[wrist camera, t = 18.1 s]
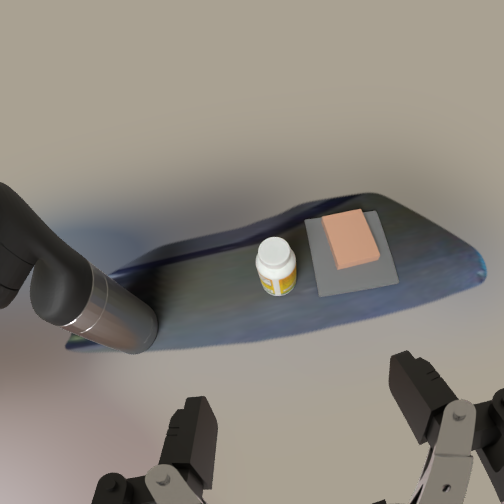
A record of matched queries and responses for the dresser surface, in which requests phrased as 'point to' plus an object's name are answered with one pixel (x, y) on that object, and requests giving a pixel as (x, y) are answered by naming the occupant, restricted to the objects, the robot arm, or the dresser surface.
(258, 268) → the supplement bottle
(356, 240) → the terracotta tile
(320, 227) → the rubber mat
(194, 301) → the dresser surface
